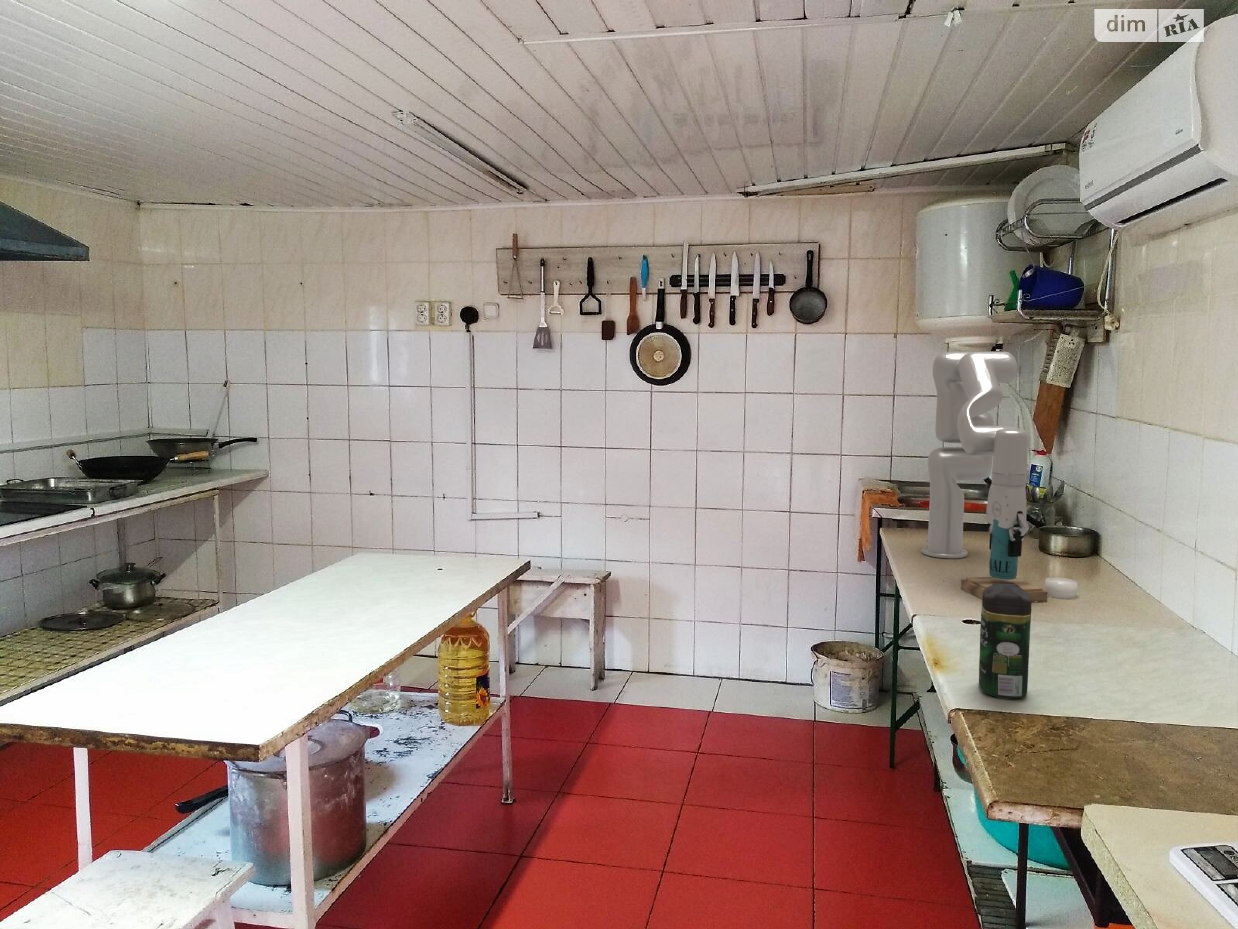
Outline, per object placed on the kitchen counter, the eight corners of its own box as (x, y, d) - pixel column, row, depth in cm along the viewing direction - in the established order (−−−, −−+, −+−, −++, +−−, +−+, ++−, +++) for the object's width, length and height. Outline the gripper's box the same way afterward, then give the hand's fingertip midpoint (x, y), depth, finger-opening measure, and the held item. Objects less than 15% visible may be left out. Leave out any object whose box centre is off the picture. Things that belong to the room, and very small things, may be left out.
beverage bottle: (1011, 578, 219) (1017, 499, 216) (1020, 586, 212) (1026, 504, 209) (984, 578, 220) (989, 498, 217) (992, 585, 213) (998, 504, 210)
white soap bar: (1039, 591, 219) (1040, 577, 219) (1067, 591, 219) (1068, 577, 219) (1052, 599, 213) (1054, 584, 212) (1082, 599, 213) (1083, 585, 212)
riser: (960, 588, 222) (961, 577, 221) (1012, 586, 224) (1012, 575, 223) (992, 604, 208) (993, 591, 208) (1047, 601, 210) (1047, 589, 210)
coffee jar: (976, 678, 160) (981, 578, 158) (1024, 683, 158) (1029, 582, 155) (978, 697, 151) (984, 591, 149) (1029, 703, 149) (1035, 596, 146)
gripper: (974, 475, 220) (971, 545, 223) (1015, 486, 203) (1011, 561, 206) (1002, 475, 222) (998, 544, 224) (1045, 485, 204) (1041, 560, 207)
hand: (1004, 552), depth 215 cm, fingers open, 7 cm apart
